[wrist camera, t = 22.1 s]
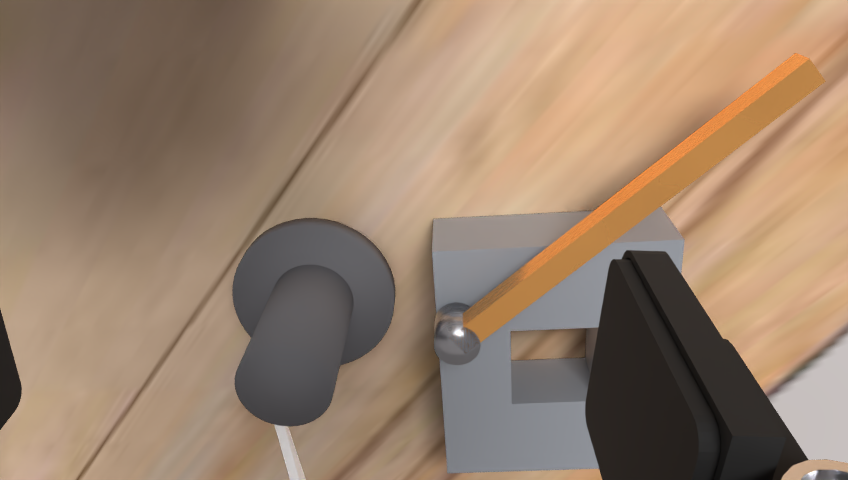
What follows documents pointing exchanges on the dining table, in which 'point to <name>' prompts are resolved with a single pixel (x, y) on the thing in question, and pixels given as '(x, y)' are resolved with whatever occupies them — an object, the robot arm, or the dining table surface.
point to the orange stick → (624, 210)
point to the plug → (307, 315)
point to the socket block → (557, 309)
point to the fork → (289, 453)
